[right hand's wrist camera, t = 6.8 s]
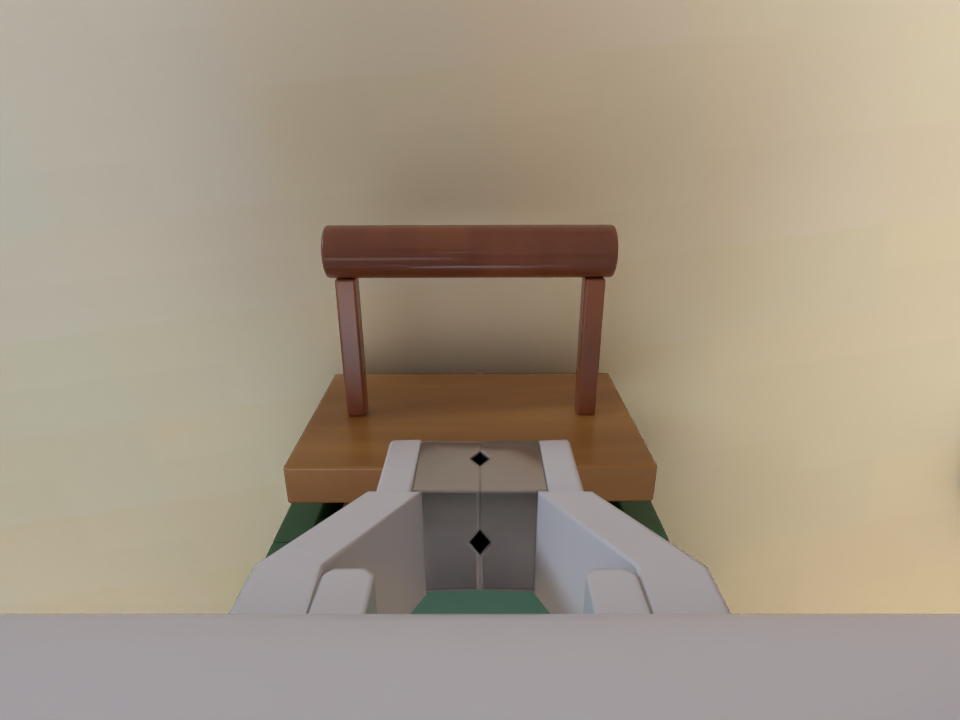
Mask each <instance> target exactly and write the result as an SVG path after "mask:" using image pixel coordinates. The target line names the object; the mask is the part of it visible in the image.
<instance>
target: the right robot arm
mask: <svg viewBox="0 0 960 720" xmlns="http://www.w3.org/2000/svg"><path fill="white" fill-rule="evenodd" d="M473 590H485V591H522V592H534V595H535V596H536V597H537V599H538V600H539V601H540V602H541V603H542V605H543V606H544V607H545V608H546V609H547V611H548V612H549V613H550V614H411V612H412V611H413V610H414V609H415V608H416V606H417V605H418V604H419V603H420V602H421V600H422V599H423V598H424V597H425V596H426V592H437V591H473ZM0 720H960V614H731V613H730V611H729V609H728V607H727V605H726V603H725V601H724V599H723V597H722V595H721V593H720V591H719V589H718V587H717V586H716V584H715V582H714V580H713V578H712V576H711V574H710V572H709V570H708V568H707V567H706V566H705V565H703V564H702V563H700V562H699V561H697V560H696V559H694V558H693V557H691V556H690V555H688V554H687V553H685V552H683V551H682V550H680V549H679V548H677V547H676V546H674V545H673V544H671V543H670V542H668V541H667V540H665V539H664V538H662V537H661V536H659V535H658V534H656V533H655V532H653V531H651V530H650V529H648V528H647V527H645V526H644V525H642V524H641V523H639V522H638V521H636V520H635V519H633V518H632V517H630V516H629V515H627V514H626V513H624V512H623V511H621V510H620V509H618V508H616V507H615V506H613V505H612V504H610V503H609V502H607V501H606V500H604V499H603V498H601V497H600V496H598V495H597V494H595V493H594V492H592V491H583V487H582V484H581V480H580V477H579V474H578V470H577V467H576V463H575V460H574V456H573V453H572V449H571V446H570V443H569V441H568V440H545V441H538V440H526V441H484V442H480V441H433V440H423V441H421V440H393V441H392V442H391V443H390V445H389V449H388V452H387V456H386V459H385V463H384V466H383V470H382V473H381V477H380V480H379V484H378V487H377V491H368V492H366V493H365V494H363V495H362V496H360V497H359V498H357V499H356V500H354V501H353V502H351V503H350V504H348V505H347V506H345V507H343V508H342V509H340V510H339V511H337V512H336V513H334V514H333V515H331V516H330V517H328V518H327V519H325V520H324V521H322V522H320V523H319V524H317V525H316V526H314V527H313V528H311V529H310V530H308V531H307V532H305V533H304V534H302V535H301V536H299V537H298V538H296V539H294V540H293V541H291V542H290V543H288V544H287V545H285V546H284V547H282V548H281V549H279V550H278V551H276V552H275V553H273V554H272V555H270V556H268V557H267V558H265V559H264V560H262V561H261V562H259V563H258V564H256V565H255V566H254V567H253V569H252V571H251V572H250V574H249V576H248V578H247V580H246V582H245V584H244V586H243V588H242V590H241V592H240V594H239V596H238V597H237V599H236V601H235V603H234V605H233V607H232V609H231V611H230V613H229V614H0Z"/></svg>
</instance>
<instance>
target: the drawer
mask: <svg viewBox="0 0 960 720" xmlns="http://www.w3.org/2000/svg"><path fill="white" fill-rule="evenodd" d="M321 255H322V263H323V268H324V271H325V273H326V275H327V277H329V278H337V279H336V280H335V287H336V298H337V309H338V320H339V330H340V341H341V352H342V363H343V374H337V375H335V377H334V378H333V380H332V382H331V384H330V386H329V387H328V389H327V391H326V393H325V395H324V396H323V398H322V400H321V402H320V403H319V405H318V407H317V409H316V411H315V412H314V414H313V416H312V418H311V420H310V421H309V423H308V425H307V427H306V429H305V430H304V432H303V434H302V436H301V437H300V439H299V441H298V443H297V445H296V446H295V448H294V450H293V452H292V454H291V455H290V457H289V459H288V461H287V463H286V464H285V466H284V475H285V482H286V489H287V496H288V501H289V503H344V505H343V507H345V506H347V505H348V504H350V503H351V502H353V501H354V500H356V499H357V498H359V497H360V496H362V495H363V494H365V493H366V492H368V491H377V487H378V484H379V480H380V477H381V473H382V470H383V466H384V463H385V459H386V456H387V452H388V449H389V445H390V443H391V442H392V441H393V440H421V441H423V440H433V441H480V442H484V441H526V440H538V441H545V440H568V441H569V443H570V446H571V449H572V453H573V456H574V460H575V463H576V467H577V470H578V474H579V477H580V480H581V484H582V487H583V491H592V492H594V493H595V494H597V495H598V496H600V497H601V498H603V499H604V500H606V501H652V500H653V495H654V487H655V479H656V471H657V465H656V463H655V461H654V459H653V457H652V456H651V454H650V452H649V450H648V448H647V446H646V444H645V442H644V440H643V439H642V437H641V435H640V433H639V431H638V429H637V427H636V425H635V424H634V422H633V420H632V418H631V416H630V414H629V412H628V410H627V408H626V407H625V405H624V403H623V401H622V399H621V397H620V395H619V393H618V392H617V390H616V388H615V386H614V384H613V382H612V380H611V378H610V377H609V375H608V374H607V373H598V369H599V356H600V343H601V330H602V317H603V304H604V291H605V279H604V278H603V277H611V276H613V274H614V272H615V269H616V265H617V259H618V236H617V231H616V228H615V226H613V225H333V226H326V227H325V228H324V230H323V234H322V240H321ZM504 277H582V289H581V305H580V321H579V337H578V353H577V369H576V373H563V374H366V370H365V357H364V344H363V331H362V318H361V305H360V292H359V280H358V278H504Z"/></svg>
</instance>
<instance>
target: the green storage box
mask: <svg viewBox="0 0 960 720" xmlns="http://www.w3.org/2000/svg"><path fill="white" fill-rule="evenodd" d="M607 502H609V503H610V504H612V505H613V506H615V507H616V508H618V509H620V510H621V511H623V512H624V513H626V514H627V515H629V516H630V517H632V518H633V519H635V520H636V521H638V522H639V523H641V524H642V525H644V526H645V527H647V528H648V529H650V530H651V531H653V532H655V533H656V534H658V535H659V536H661V537H662V538H664V539H665V540H667V541H668V537H667V535H666V533H665V531H664V529H663V526H662V524H661V522H660V520H659V518H658V516H657V514H656V511H655V509H654V507H653V505H652V503H651V501H607ZM343 505H344V503H292V504H291V506H290V508H289V510H288V512H287V514H286V516H285V518H284V521H283V523H282V525H281V527H280V529H279V531H278V533H277V535H276V537H275V539H274V541H273V544H272V546H271V548H270V550H269V552H268V554H267V556H266V558H267V557H268V556H270V555H272V554H273V553H275V552H276V551H278V550H279V549H281V548H282V547H284V546H285V545H287V544H288V543H290V542H291V541H293V540H294V539H296V538H298V537H299V536H301V535H302V534H304V533H305V532H307V531H308V530H310V529H311V528H313V527H314V526H316V525H317V524H319V523H320V522H322V521H324V520H325V519H327V518H328V517H330V516H331V515H333V514H334V513H336V512H337V511H339V510H340V509H342V508H343ZM668 542H669V541H668ZM411 614H550V613H549V612H548V611H547V609H546V608H545V607H544V606H543V605H542V603H541V602H540V601H539V600H538V599H537V597H536V596H535V595H534V592H522V591H485V590H473V591H437V592H426V596H425V597H424V598H423V599H422V600H421V602H420V603H419V604H418V605H417V606H416V608H415V609H414V610H413V611H412V612H411Z"/></svg>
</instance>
